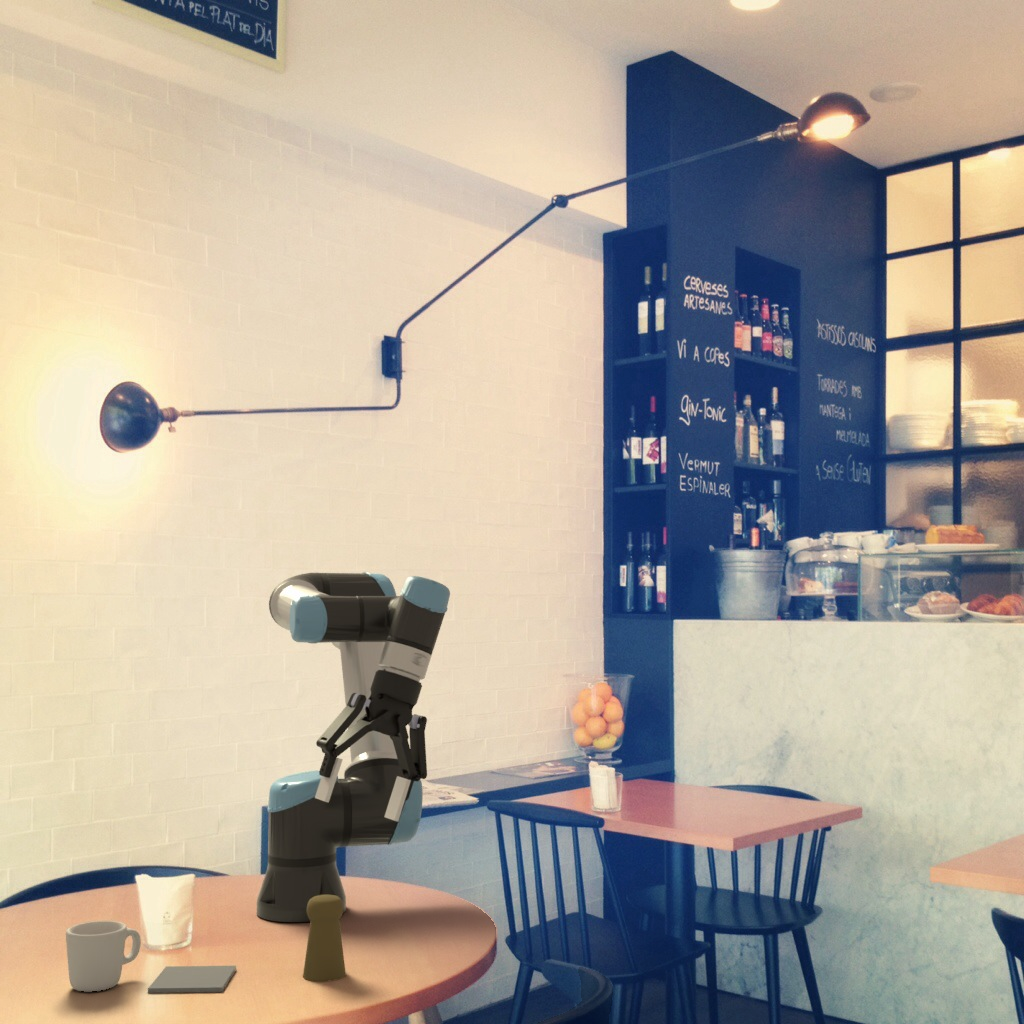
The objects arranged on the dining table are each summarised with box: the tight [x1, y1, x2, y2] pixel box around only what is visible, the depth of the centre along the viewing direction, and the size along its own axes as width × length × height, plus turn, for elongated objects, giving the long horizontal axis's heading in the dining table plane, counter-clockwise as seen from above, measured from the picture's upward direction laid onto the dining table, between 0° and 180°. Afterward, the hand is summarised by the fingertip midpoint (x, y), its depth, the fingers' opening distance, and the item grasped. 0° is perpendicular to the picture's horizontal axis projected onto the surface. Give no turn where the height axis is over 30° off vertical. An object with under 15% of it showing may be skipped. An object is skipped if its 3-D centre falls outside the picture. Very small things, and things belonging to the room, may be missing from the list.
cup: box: [65, 920, 141, 993], centre depth 167 cm, size 11×8×8 cm
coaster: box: [147, 965, 237, 994], centre depth 168 cm, size 10×10×1 cm
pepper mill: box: [302, 895, 347, 983], centre depth 171 cm, size 6×6×11 cm
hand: (357, 810), depth 182 cm, fingers open, 13 cm apart
